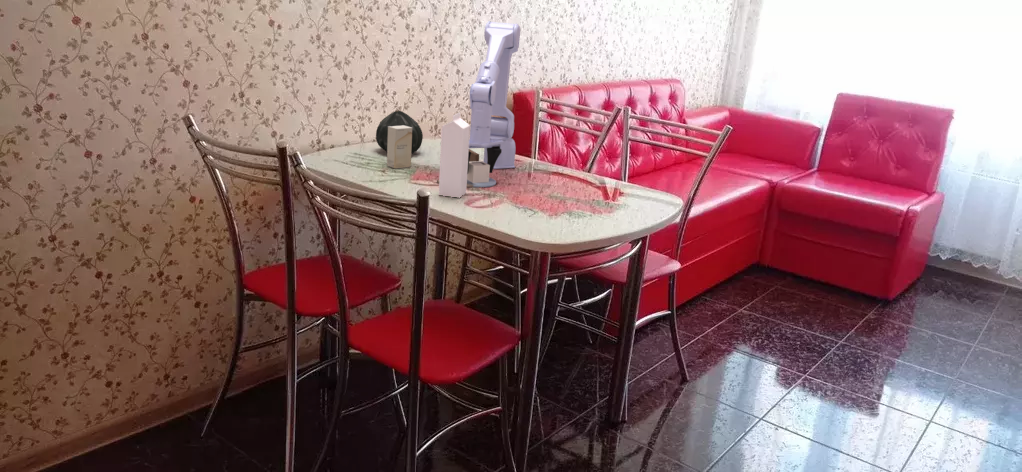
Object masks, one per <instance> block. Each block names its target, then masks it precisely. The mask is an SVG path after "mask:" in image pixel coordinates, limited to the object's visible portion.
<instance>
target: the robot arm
mask: <svg viewBox="0 0 1022 472" xmlns="http://www.w3.org/2000/svg"><path fill="white" fill-rule="evenodd" d="M483 36H484V40H485V44H486V45H487V52H486V56H485V61H483V62H481V64H480V65H479V69H478V72H477V75H476V79H475V81H474V83H472V84H471V85H470V89H469V108H470V109H471V110H470V111H471V112H470V113H471V114H470V135H469V149H483V160H482V161H483V162H485V163H487V164H488V165H490V171H489V174H492V173H493V172H494V169H495V170H497V169H515V168H516V165H515V160H516V158H515V157H516V142H515V140H514V138H512V137H513V136H514V130H515V115H514V113H513V112H512V111H511V110H510V109H509V108H508V107H507V103H508V102H507V101H508V92H509V91H508V90H509V81H510V72H511V71H510V69H511V63H512V62H511V61H512V57H513V55H514V53H517V52H518V51H519V48H520V39H521V26H520V25H519V23H509V22H500V21H499V22H496V21H490V20H488V21H487V22H486V23H485V26H484V35H483ZM470 156H471V152H470V151H469V153H468V170H467V174H468V172H469V160H470Z"/></svg>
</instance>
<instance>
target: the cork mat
mask: <svg viewBox="0 0 1022 472" xmlns="http://www.w3.org/2000/svg"><path fill="white" fill-rule="evenodd" d="M468 182H469V181H468ZM436 183H437V184H439V179H438V180H436ZM470 183H471V182H470ZM473 185H474V184H468V183H467V187H466V189H468V188H470V189H471V188H474V187H473Z"/></svg>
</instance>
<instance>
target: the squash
mask: <svg viewBox="0 0 1022 472" xmlns="http://www.w3.org/2000/svg"><path fill="white" fill-rule="evenodd" d="M402 125H405V126H408V127H412V149H411V155H412V154H415V153H416V152H417V151H418V150H419V149H420V148H421V146H422V144H423V139H424V136H423V131H422V128H421V126H420V125H419V123H418V122H417V121H416V120H415V119H414V118H413V117H411V116H410V115H409V114H407V113H405V112H403V111H401V110H395V111H393V112H391V113H390V114H388V115H387V116H385V117H384V118H383V119H381V121H380V122H379V123H378V126H377V128H376V131H375V132H376V133H375V140H376V143H377V145H378V147H380V148H381V149H382V150H383V151H385V152H387V144H388V126H402Z"/></svg>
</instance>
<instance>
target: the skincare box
mask: <svg viewBox="0 0 1022 472" xmlns="http://www.w3.org/2000/svg"><path fill="white" fill-rule="evenodd" d="M411 149H412V127H408V126H405V125H402V126H388V144H387V151H386V155H387V156H386V166H387V167H389V168H392V169H402V168H403V169H404V168H410V167H411V166H412V154H411Z"/></svg>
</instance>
